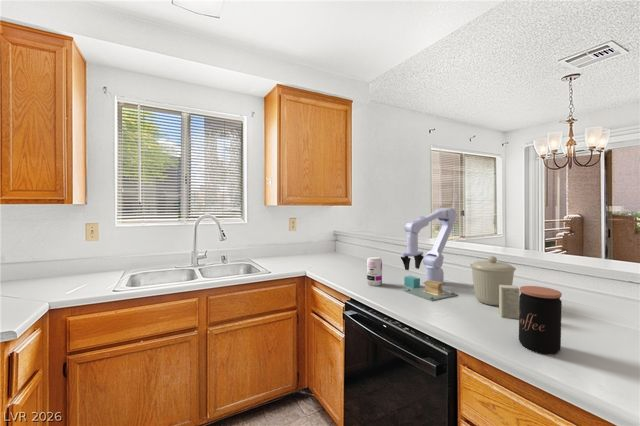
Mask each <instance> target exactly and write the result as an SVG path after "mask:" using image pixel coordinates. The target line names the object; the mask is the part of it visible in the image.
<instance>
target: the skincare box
mask: <svg viewBox="0 0 640 426" xmlns="http://www.w3.org/2000/svg"><path fill="white" fill-rule="evenodd" d="M519 296H520V287H518V286H517V285H514V284H512V285H499V306H498V314H499V316H500V317H501V318H506V319H516V320H519Z"/></svg>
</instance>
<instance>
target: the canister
mask: <svg viewBox="0 0 640 426" xmlns="http://www.w3.org/2000/svg"><path fill="white" fill-rule="evenodd" d="M497 260H498V258H497V256H494V255H491V256H488V258H487V260H477V261H474V262H472V263H470V265H469V266H470V267H471V272H472V273H471V274H472V275H471V276H472V282H473V290H474V296H475V298H476V300H477V302H480V303H482V304H484V305H489V306H498V307H499V285H513V281H514V274H515V271H516V270H517V269H516V267H514V266H513V265H512V264H510V263H506V262H502V261H497Z"/></svg>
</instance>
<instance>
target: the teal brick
mask: <svg viewBox="0 0 640 426" xmlns="http://www.w3.org/2000/svg"><path fill="white" fill-rule="evenodd" d="M403 278H404V286H405V287H408V288H410V289H413V288H419V287H421V278H419V277H417V276H412V275H408V276H407V275H405V276H404V277H403Z"/></svg>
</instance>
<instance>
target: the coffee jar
mask: <svg viewBox="0 0 640 426" xmlns="http://www.w3.org/2000/svg"><path fill="white" fill-rule="evenodd" d="M519 292H520V293H519V319H518V341H519V343H520V345H521V346H522V347H523V348H524V347H525V348H524V349H526V348H527V350H528V351H530V350H531V351H530V352H533V351H534V352H533V353H536V352H537V354H540V353H541V354H540V355H547V354H553V355H557V354H558V353H559V352H560V351H561V349H562V348H561V347H562V346H561V345H562V308H563V307H562V305H563V304H562V300H561V298H562V295H563V294H562V292H561V291H559V290H557V289H554V288H550V287H546V286H545V287H544V286H537V285H536V286H535V285H523V286H520V287H519Z"/></svg>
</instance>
